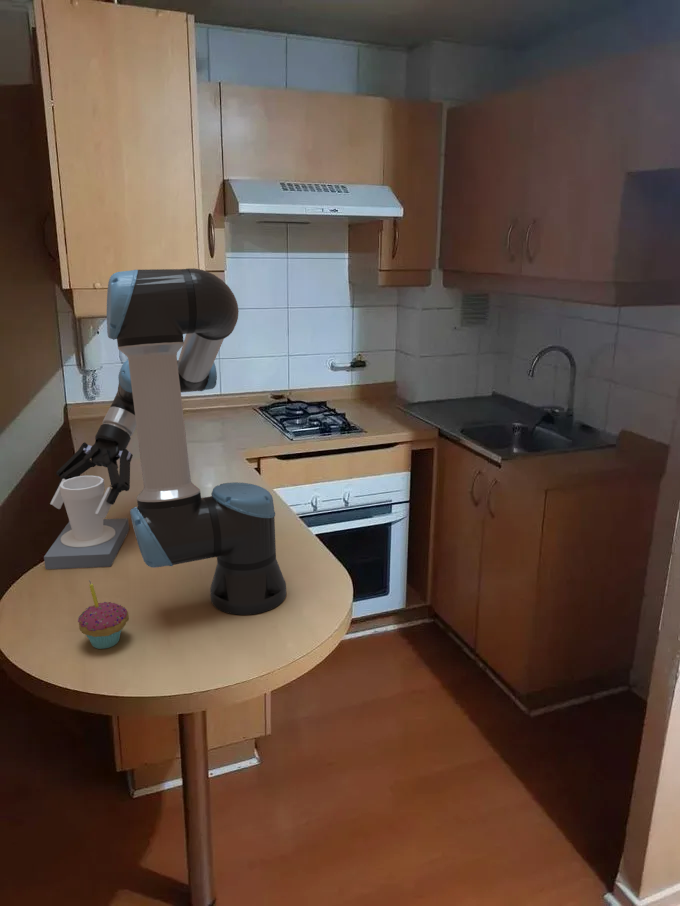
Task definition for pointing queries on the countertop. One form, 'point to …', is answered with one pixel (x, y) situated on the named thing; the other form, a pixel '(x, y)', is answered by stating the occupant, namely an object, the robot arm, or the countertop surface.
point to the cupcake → (103, 622)
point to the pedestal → (87, 547)
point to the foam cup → (83, 505)
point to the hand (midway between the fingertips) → (77, 511)
